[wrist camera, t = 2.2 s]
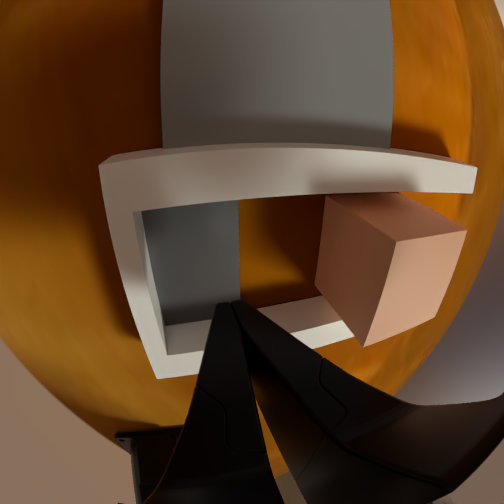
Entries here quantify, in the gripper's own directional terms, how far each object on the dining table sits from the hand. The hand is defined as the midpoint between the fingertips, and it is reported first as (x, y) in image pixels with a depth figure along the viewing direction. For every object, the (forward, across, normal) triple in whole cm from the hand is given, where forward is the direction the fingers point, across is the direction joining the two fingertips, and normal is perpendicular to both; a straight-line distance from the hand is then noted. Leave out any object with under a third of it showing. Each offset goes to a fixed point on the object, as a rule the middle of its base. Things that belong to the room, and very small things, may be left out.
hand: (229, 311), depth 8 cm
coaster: (+3, -3, -9) cm, 10 cm away
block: (+3, -7, 0) cm, 8 cm away
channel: (+3, -6, 0) cm, 6 cm away
